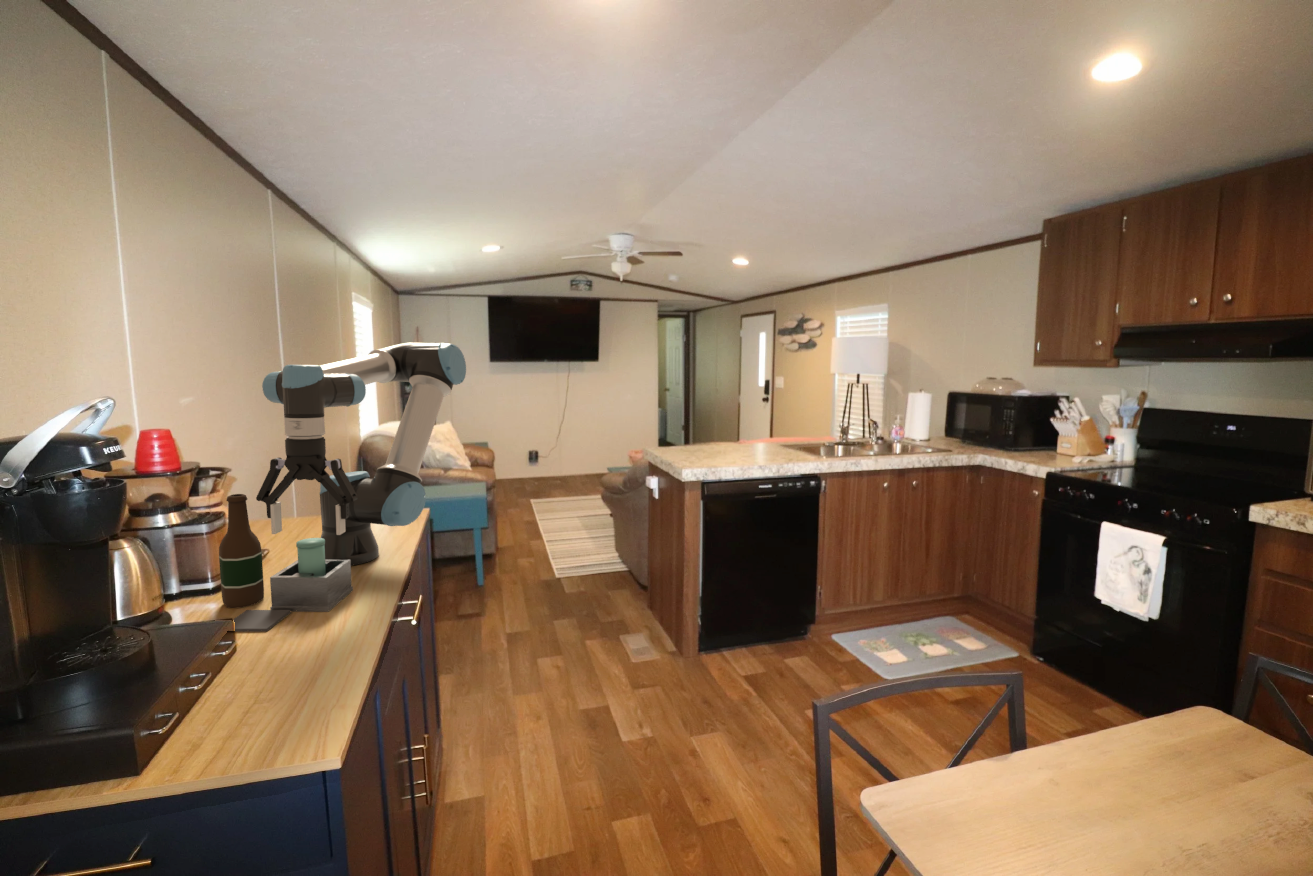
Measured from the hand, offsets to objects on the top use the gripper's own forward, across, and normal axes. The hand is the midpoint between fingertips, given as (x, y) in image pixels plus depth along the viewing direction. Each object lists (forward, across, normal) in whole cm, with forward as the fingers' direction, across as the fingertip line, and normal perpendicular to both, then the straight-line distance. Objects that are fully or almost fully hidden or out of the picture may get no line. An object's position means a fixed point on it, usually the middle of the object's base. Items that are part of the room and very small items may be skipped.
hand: (309, 533), depth 134 cm
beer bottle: (+16, -14, 0) cm, 22 cm away
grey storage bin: (+16, 0, 0) cm, 16 cm away
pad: (+16, -6, -10) cm, 20 cm away
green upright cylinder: (+12, 0, 0) cm, 12 cm away
